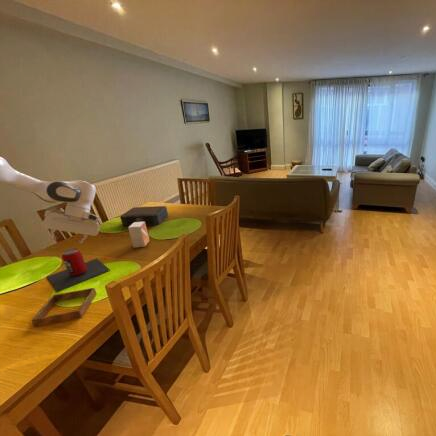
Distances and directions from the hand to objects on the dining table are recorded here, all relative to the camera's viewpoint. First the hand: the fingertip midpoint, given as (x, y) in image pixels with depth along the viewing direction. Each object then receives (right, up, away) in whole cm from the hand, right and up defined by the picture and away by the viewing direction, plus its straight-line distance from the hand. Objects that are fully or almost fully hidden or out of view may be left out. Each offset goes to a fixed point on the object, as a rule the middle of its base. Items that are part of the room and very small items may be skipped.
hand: (67, 241), depth 113 cm
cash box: (-2, +9, +65) cm, 65 cm away
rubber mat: (+3, -16, +3) cm, 16 cm away
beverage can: (+3, -16, +3) cm, 16 cm away
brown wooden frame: (+18, -25, -19) cm, 36 cm away
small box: (+16, -5, +31) cm, 35 cm away
